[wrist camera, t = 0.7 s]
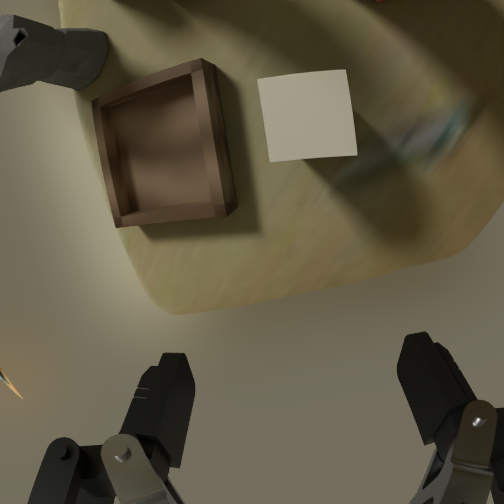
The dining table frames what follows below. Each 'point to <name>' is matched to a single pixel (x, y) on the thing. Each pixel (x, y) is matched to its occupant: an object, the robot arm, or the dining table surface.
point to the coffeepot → (48, 54)
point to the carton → (308, 115)
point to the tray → (165, 147)
